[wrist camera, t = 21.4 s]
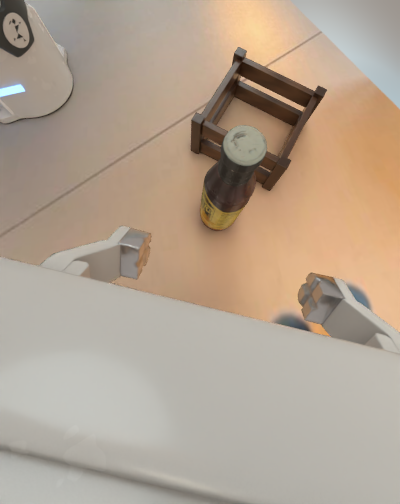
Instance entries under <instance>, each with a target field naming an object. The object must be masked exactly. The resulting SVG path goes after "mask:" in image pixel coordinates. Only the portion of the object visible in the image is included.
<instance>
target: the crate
mask: <svg viewBox="0 0 400 504" xmlns="http://www.w3.org/2000/svg"><path fill="white" fill-rule="evenodd" d="M246 52H247V51H246V50H244V49H242V48H240V47H238V48H237V50H236V51H235V53H234V57H233V63H232V67H231V68H230V70H229V72H228V73H227V75H226V76H225V78H224V79H223V81H222V83H221V84H220V86H219V87H218V89H217V90H216V92H215V94H214V95H213V97H212V98H211V100H210V101H209V103H208V105H207V106H206V108H205V109H204V111H203V112H202V114H199V113H196V114H195V115H194V117H193V118H192V120H191V151H193V152H195V153H197V154H199V152H202V153H204V154H205V155H207V156H209V157H211V158H213V159H215V160H217V161H219V160H220V158H221V147H219V146H218V145H216V144H214V143H212V142H210V141H208V140H207V139H210V140H212V141H214V142H216V143H218V144H220V145H222V142H223V139H224V137H225V135H226V134H227V133H228V131H226V130H224V129H222V128H220V127H218V126H216V125H217V123H218V121H219V120H220V118H221V117H222V115H223V113H224V112H225V110H226V108H227V107H228V105H229V103H230V102H231V100H232V99H233V97H234V96H235V97H237V98H239V99H241V100H243V101H245V102H247V103H249V104H251V105H253V106H255V107H257V108H259V109H261V110H263V111H265V112H267V113H269V114H271V115H273V116H275V117H277V118H279V119H281V120H283V121H285V122H287V123H289V124H291V125H293V126H294V127H293V129H292V130H291V132H290V134H289V136H288V138H287V140H286V142H285V144H284V146H283V148H282V150H281V151H280V153H279V155H278V157H277V156H275V155H273V154H271V153H269V152H267V151H266V154H265V157H264V159H263V161H262V163H261V164H260V165H261V166H263V167H265V168H267V169H269V170H270V172H268V171H266V170H264V169H262V168H261V167H257V168H256V169H255V171H254V173H255V176H256V181H258V182H260V183H262V184H263V186H262V187H263V188H265V189H267V190H269V191H270V190H271V189H272V187H273V186H274V185H275V183H276V182H277V181H278V180H279V178H280V177H281V176H282V174H283V173H284V172H285V170H286V169H287V168H288V166H289V164H290V162H291V160H290V159H288V156H289V154H290V152H291V150H292V148H293V146H294V144H295V142H296V140H297V138H298V136H299V134H300V132H301V131H302V129H303V127H304V125H305V123H306V122H307V121H308V119H309V118H310V116H311V115H312V113H313V112H314V110H315V109H316V107H317V106H318V104H319V103H320V101H321V100H322V98H323V97H324V95H325V93H326V91H327V89H325V88H322V87H320V86H318V87H317V88H316V90H315V91H313V90H311V89H309V88H307V87H305V86H303V85H301V84H299V83H297V82H295V81H293V80H291V79H288V78H286V77H284V76H282V75H280V74H278V73H276V72H274V71H272V70H270V69H268V68H266V67H264V66H262V65H260V64H258V63H256V62H254V61H251V60H249V59H247V58H245V57H246ZM241 76H242V77H244V78H246V79H248V80H251V81H253V82H255V83H257V84H259V85H261V86H263V87H265V88H267V89H269V90H271V91H273V92H275V93H277V94H279V95H281V96H283V97H285V98H287V99H289V100H291V101H293V102H295V103H297V104H299V105H301V106H303V107H305V108H304V109H303V111H300V110H298V109H296V108H294V107H292V106H290V105H288V104H286V103H284V102H282V101H280V100H278V99H276V98H273V97H271V96H269V95H267V94H265V93H263V92H261V91H259V90H257V89H255V88H253V87H251V86H249V85H247V84H245V83H243V82H241V81H240V78H241Z"/></svg>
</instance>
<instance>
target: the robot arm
mask: <svg viewBox="0 0 400 504" xmlns="http://www.w3.org/2000/svg"><path fill="white" fill-rule="evenodd" d="M72 88H73V77H72V74H71V71H70V69H69V67H68V65H67V53H66V51H65V49H64V48H63V47H62V46H61V45H59V44H56V43H55V42H54V40H53V38H52V37H51V35H50V33H49V32H48V30H47V29H46V27H45V25H44V24H43V22H42V20H41V19H40V17H39V16H38V14H37V12H36V11H35V9H34V8H33V7H32V6H31V5H28V4H27V3H25V2H24V0H0V122H1V123H10V122H13V121H16V120H18V119H21V118H34V117H40V116H44V115H47V114H49V113H51V112H53V111H55V110H57V109H58V108H59V107H61V106H62V105H63V104H64V103H65V102H66V100H67V99H68V97H69V96H70V94H71V91H72ZM150 242H151V233H149V232H145V231H141V230H137V229H134V228H130V227H126V226H119V228H118V229H117V230H116V231H115V232H114V233H113V234H112V235H111V236H110V237H109V238H108V239H107V240H106V241H105V240H101V241H98V242H94V243H90V244H87V245H83V246H79V247H76V248H72V249H68V250H65V251H61V252H57V253H54V254H52V255H51V256H50V257H49V258H47V259H46V260H45V261H44V262H43V263H41V264H40V265H39V266H37V265H33V264H29V263H25V262H21V261H16V260H12V259H8V258H4V257H0V504H400V333H399V332H398V331H397V330H396V329H394V328H393V327H392V326H390V325H389V324H388V323H386V322H385V321H384V320H382V319H381V318H380V317H378V316H377V315H376V314H374V313H373V312H372V311H370V310H369V309H368V308H366V307H365V306H364V305H362V304H361V303H359V302H357V301H356V300H355V298H354V296H353V295H352V293H351V292H350V290H349V288H348V287H347V285H346V284H345V282H344V281H343V280H342V279H339V278H334V277H329V276H324V275H320V274H315V273H310V274H309V275H308V276H307V278H306V281H307V283H305V284H303V285H302V286H301V287H300V289H299V292H298V301H299V303H300V304H301V305H302V306H303V308H302V309H301V310H302V313H303V316H304V319H305V320H306V321H310V322H313V323H317V324H321V325H322V327H323V328H324V329H325V330H326V331H327V333H328V334H329V335H330V336H331V337H329V336H325V335H321V334H317V333H313V332H309V331H304V330H300V329H296V328H292V327H288V326H284V325H280V324H276V323H272V322H267V321H263V320H259V319H255V318H251V317H247V316H243V315H239V314H234V313H230V312H226V311H222V310H218V309H214V308H210V307H206V306H202V305H197V304H193V303H189V302H185V301H181V300H177V299H173V298H169V297H165V296H160V295H156V294H152V293H148V292H144V291H140V290H136V289H132V288H128V287H123V286H119V285H115V284H111V283H110V282H111V281H113V280H115V279H117V278H118V277H120V276H124V277H128V278H133V279H138V278H139V276H140V274H141V272H142V268H143V266H145V265H146V263H147V261H148V258H149V254H150V247H149V243H150Z"/></svg>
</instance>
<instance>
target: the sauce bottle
mask: <svg viewBox="0 0 400 504" xmlns="http://www.w3.org/2000/svg"><path fill="white" fill-rule="evenodd" d="M266 151H267V144H266V139H265V137H264V136H263V134H262V133H260V132H259V131H258V130H257V129H256V128H254V127H251V126H246V125H242V126H236V127H234V128H233V129H231V130H230V131H229V132H228V133H227V134H226V135H225V137H224V139H223V142H222V145H221V158H220V160H219V161H218V162H217V163H216V164H215V165H214V166H213V167H212V168H211V169H210V170H209V171H208V172H207V174H206V176H205V179H204V186H203V192H202V199H201V207H200V215H201V218H202V220H203V223H204V224H205V225H206V226H207V227H209V228H211V229H213V230H216V231H218V230H223V229H226V228H228V227H229V226H231V225H232V224H233V223H234V221H235V220H236V218H237V217H238V215H239V214H240V213H241V211H242V210H243V208H244V207H245V205H246V204H247V203H248V201H249V198H250V197H251V195H252V193H253V191H254V189H255V184H256V176H255V173H254V171H255V169H256V168H257V167H259V166H260V164H261V163H262V161H263V159H264V157H265V154H266Z"/></svg>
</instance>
